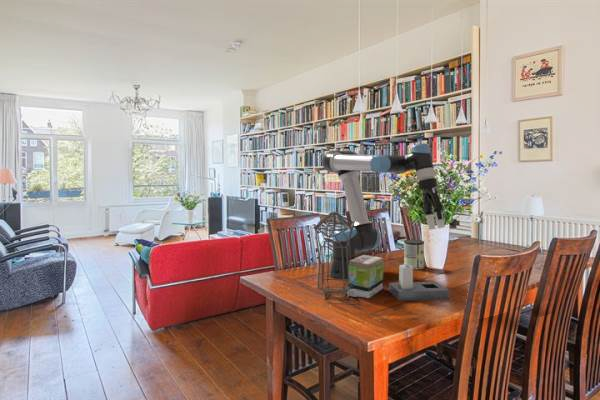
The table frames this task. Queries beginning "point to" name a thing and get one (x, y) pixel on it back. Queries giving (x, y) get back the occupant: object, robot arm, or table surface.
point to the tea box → (365, 276)
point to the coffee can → (414, 253)
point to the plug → (405, 276)
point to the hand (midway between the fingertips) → (436, 228)
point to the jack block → (419, 291)
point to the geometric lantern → (334, 247)
